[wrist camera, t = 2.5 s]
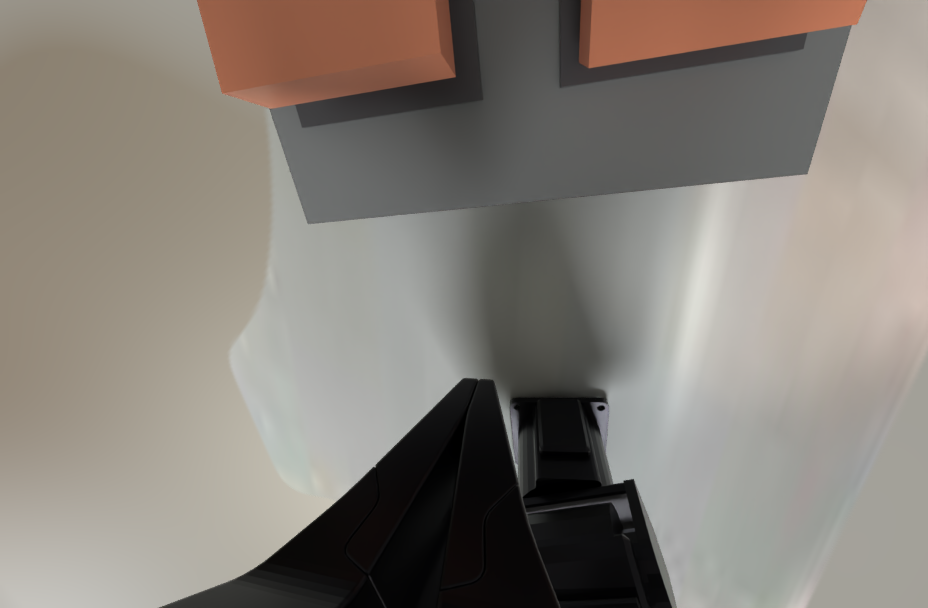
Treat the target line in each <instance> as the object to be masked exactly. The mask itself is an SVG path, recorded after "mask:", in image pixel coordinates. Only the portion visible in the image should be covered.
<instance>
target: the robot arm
mask: <svg viewBox="0 0 928 608" xmlns="http://www.w3.org/2000/svg"><path fill="white" fill-rule="evenodd" d="M515 405H519V406H515ZM600 405H603V406H601V407H599V406H600ZM510 412H511V423H512V434H513V445H514V455H515V463H516V464H517V465H518V478H517V473H516V469H515V465H514V461H513V457H512V452H511V448H510V444H509V440H508V436H507V432H506V427H505V423H504V419H503V415H502V411H501V406H500V402H499V398H498V394H497V390H496V386H495V382H494V380H491V379H480V380H478V379H474V378H464V379H462V380H461V381H460V382H459V383H458V384H457V385H456V386H455V387H454V388H453V389H452V390H451V391H450V392H449V393H448V394H447V395H446V396H445V397H444V398H443V399H442V400H441V401H440V402H439V403H438V404H437V405H436V406H435V407H434V408H433V409H432V410H431V411H430V412H429V413H428V414H427V415H426V416H425V417H423V418H422V419H421V420H420V421H419V422H418V423H417V424H416V425H415V426H414V427H413V428H412V429H411V430H410V431H409V432H408V433H407V434H406V435H405V436H404V437H403V438H402V439H401V440H400V441H399V442H398V443H397V444H396V445H395V446H394V447H393V448H392V449H391V450H390V451H389V452H388V453H387V454H386V455H385V456H384V457H383V458H382V459H381V460H380V461H379V462H378V463H377V464H376V468H375V467H373V468H372V469H371V470H370V471H369V472H368V473H367V474H366V475H365V476H364V477H363V478H362V479H361V480H359V481H358V482H357V483H356V484H355V485H354V486H353V487H352V488H351V489H350V490H349V491H348V492H347V493H346V494H345V495H343V496H342V497H341V498H340V499H339V500H338V501H337V502H335V503H334V504H333V505H332V506H331V507H330V508H329V509H327V510H326V511H325V512H324V513H323V514H321V516H319V517H318V518H317V519H316V520H314V521H313V522H312V523H311V524H309V525H308V526H307V527H306V528H305V529H303V530H302V531H301V532H300V533H298V534H297V535H296V536H295V537H294V538H292V539H291V540H290V541H289V542H288V543H286V544H285V545H284V546H283V547H282V548H280V549H279V550H278V551H277V552H275V553H274V554H273V555H272V556H271V557H269V558H268V559H267V560H265V561H264V562H263V563H261V564H260V565H258V566H257V567H255V568H254V569H252V570H250V571H249V572H247V573H245V574H244V575H242V576H240V577H238V578H236V579H233V580H231V581H229V582H226V583H223V584H221V585H218V586H215V587H213V588H210V589H207V590H205V591H202V592H199V593H197V594H194V595H191V596H189V597H186V598H184V599H181V600H178V601H175V602H173V603H170V604H167V605H165V606H162V607H159V608H677V606H676V602H675V598H674V594H673V590H672V586H671V582H670V578H669V575H668V571H667V568H666V565H665V562H664V559H663V556H662V553H661V550H660V547H659V544H658V541H657V538H656V535H655V532H654V529H653V527H652V524H651V522H650V519H649V517H648V514H647V512H646V509H645V507H644V504H643V501H642V499H641V496H640V494H639V491H638V489H637V486H636V484H635V481H634V479H631V480H625V481H624V483H618V484H613V481H612V477H611V473H610V469H609V465H608V461H607V457H606V443H607V430H608V417H609V405H608V402H607V401H606V400H605V399H603V398H514V399H512V400H511V402H510Z"/></svg>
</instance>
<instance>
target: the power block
mask: <svg viewBox="0 0 928 608" xmlns="http://www.w3.org/2000/svg"><path fill="white" fill-rule="evenodd" d="M448 1H449V11H450V21H451V32H452V42H453V53H454V63H455V74H456V77H453V78H448V79H442V80H436V81H430V82H424V83H418V84H413V85H407V86H401V87H395V88H389V89H383V90H378V91H372V92H366V93H360V94H354V95H348V96H343V97H337V98H331V99H325V100H319V101H313V102H308V103H302V104H296V105H290V106H284V107H278V108H273V109H270V108H269V109H270V112H271V115H272V118H273V121H274V124H275V127H276V130H277V133H278V136H279V139H280V142H281V145H282V148H283V151H284V154H285V157H286V160H287V163H288V166H289V169H290V172H291V175H292V178H293V181H294V184H295V187H296V190H297V193H298V196H299V199H300V202H301V205H302V208H303V211H304V214H305V217H306V220H307V223H308V224H315V223H325V222H335V221H345V220H355V219H365V218H374V217H384V216H394V215H404V214H414V213H424V212H434V211H444V210H454V209H464V208H474V207H484V206H494V205H504V204H514V203H524V202H534V201H544V200H554V199H564V198H574V197H584V196H594V195H604V194H613V193H623V192H633V191H643V190H653V189H663V188H673V187H683V186H693V185H703V184H713V183H723V182H733V181H743V180H753V179H763V178H773V177H783V176H793V175H803V174H808V170H809V167H810V164H811V160H812V157H813V153H814V150H815V147H816V143H817V140H818V137H819V133H820V130H821V127H822V123H823V120H824V116H825V113H826V110H827V106H828V103H829V100H830V96H831V93H832V90H833V86H834V83H835V80H836V76H837V73H838V69H839V66H840V63H841V59H842V56H843V53H844V49H845V46H846V43H847V39H848V36H849V32H850V29H851V26H852V25H849V26H843V27H837V28H831V29H825V30H819V31H813V32H807V33H801V34H794V35H788V36H782V37H776V38H770V39H764V40H758V41H752V42H746V43H740V44H734V45H728V46H721V47H715V48H709V49H703V50H697V51H691V52H685V53H679V54H673V55H667V56H661V57H655V58H648V59H642V60H636V61H630V62H624V63H618V64H612V65H606V66H600V67H594V68H587V67H586V66H584V65H582V64H580V63H579V42H580V15H581V0H448Z"/></svg>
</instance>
